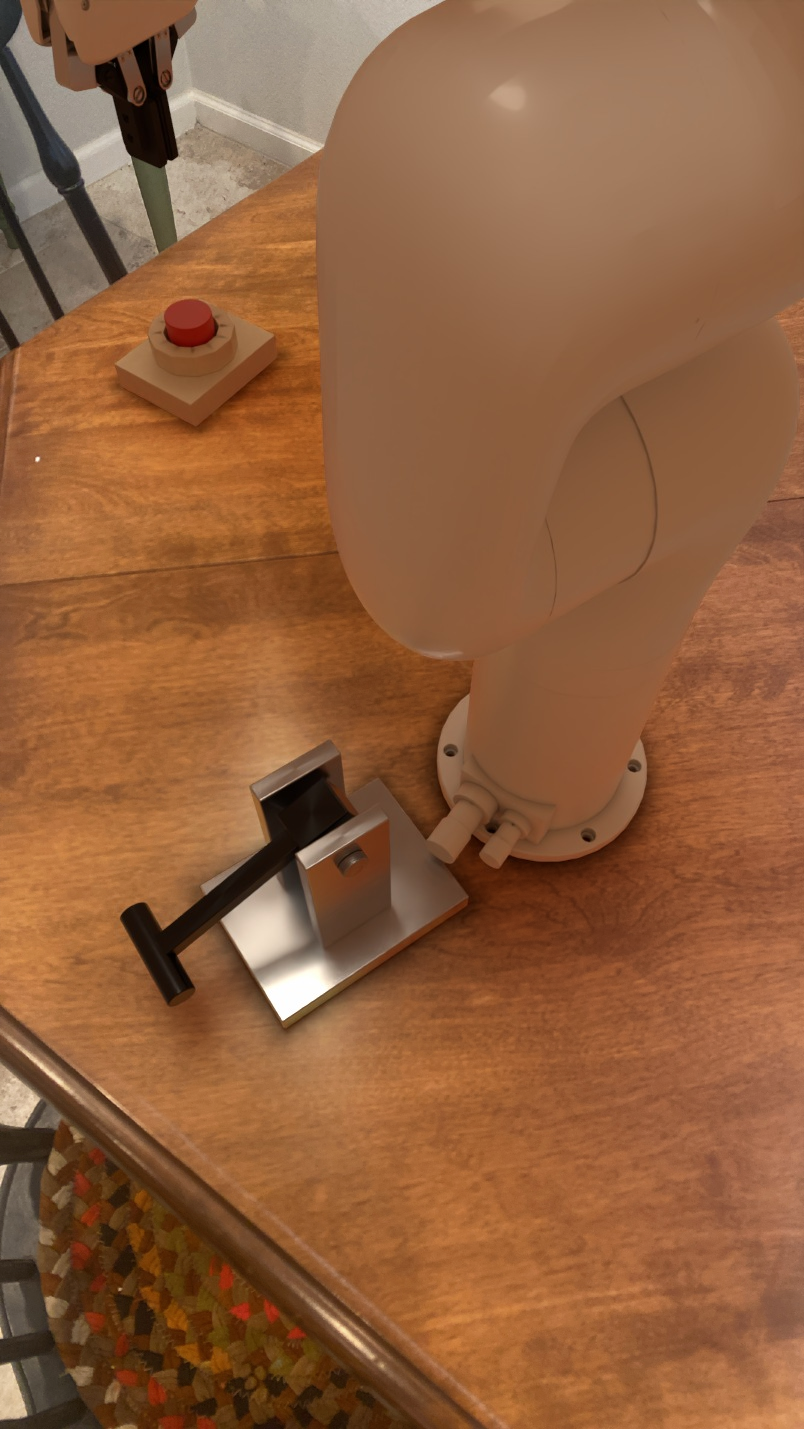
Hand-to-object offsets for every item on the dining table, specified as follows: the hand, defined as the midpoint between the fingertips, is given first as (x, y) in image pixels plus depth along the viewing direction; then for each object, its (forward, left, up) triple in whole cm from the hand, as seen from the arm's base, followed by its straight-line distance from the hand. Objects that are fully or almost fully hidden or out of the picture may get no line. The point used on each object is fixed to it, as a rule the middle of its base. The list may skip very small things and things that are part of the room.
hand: (153, 155), depth 62 cm
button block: (0, 0, -17) cm, 17 cm away
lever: (-33, -35, -9) cm, 48 cm away
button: (0, 0, -14) cm, 14 cm away
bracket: (-29, -36, -17) cm, 49 cm away
